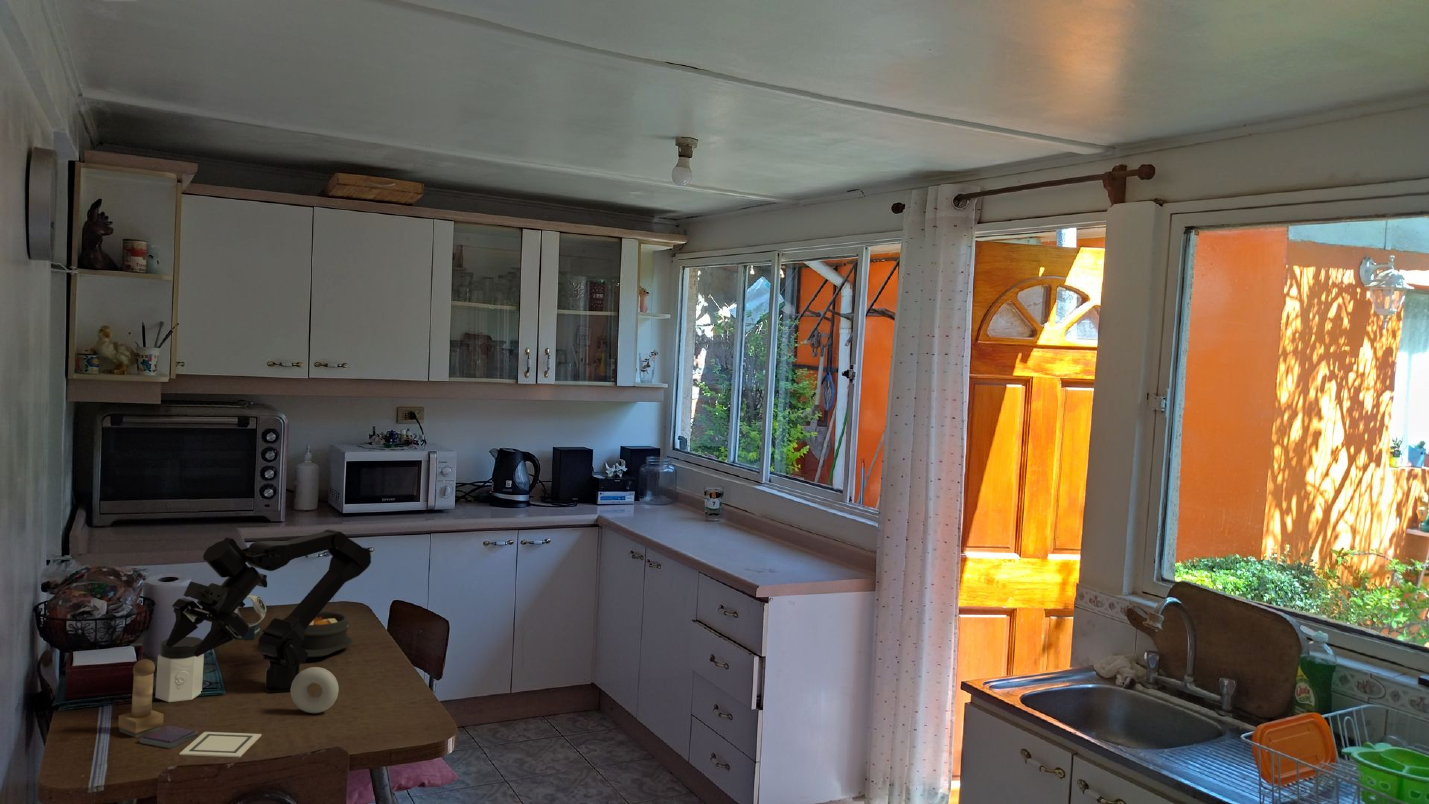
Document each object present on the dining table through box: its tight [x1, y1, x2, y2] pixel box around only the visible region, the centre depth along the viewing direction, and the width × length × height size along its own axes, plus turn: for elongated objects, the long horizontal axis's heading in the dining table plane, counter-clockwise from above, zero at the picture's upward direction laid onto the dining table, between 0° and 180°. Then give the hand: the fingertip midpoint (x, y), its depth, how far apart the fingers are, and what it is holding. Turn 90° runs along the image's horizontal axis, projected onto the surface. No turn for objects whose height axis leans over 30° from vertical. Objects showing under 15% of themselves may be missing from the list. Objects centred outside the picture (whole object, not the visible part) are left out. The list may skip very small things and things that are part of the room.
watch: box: [234, 594, 268, 641], centre depth 260 cm, size 6×8×11 cm
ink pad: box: [139, 725, 199, 749], centre depth 191 cm, size 7×7×1 cm
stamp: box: [117, 658, 165, 738], centre depth 194 cm, size 6×6×14 cm
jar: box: [154, 636, 205, 703], centre depth 214 cm, size 9×8×12 cm
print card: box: [178, 731, 262, 758], centre depth 190 cm, size 11×11×1 cm
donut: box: [289, 666, 340, 714], centre depth 210 cm, size 10×4×10 cm, turn 94°
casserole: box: [286, 610, 353, 658], centre depth 254 cm, size 25×19×8 cm
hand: (180, 651), depth 201 cm, fingers open, 9 cm apart
